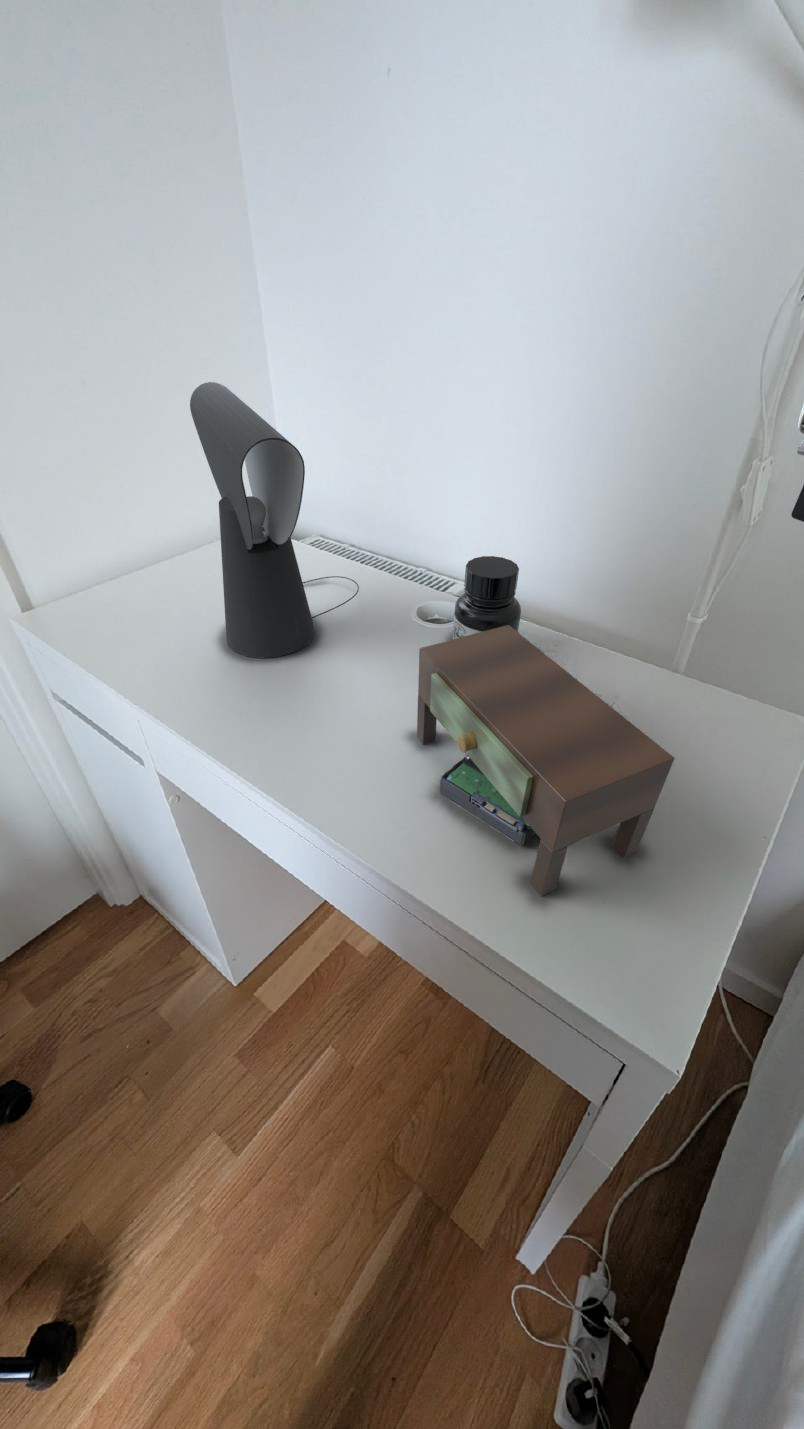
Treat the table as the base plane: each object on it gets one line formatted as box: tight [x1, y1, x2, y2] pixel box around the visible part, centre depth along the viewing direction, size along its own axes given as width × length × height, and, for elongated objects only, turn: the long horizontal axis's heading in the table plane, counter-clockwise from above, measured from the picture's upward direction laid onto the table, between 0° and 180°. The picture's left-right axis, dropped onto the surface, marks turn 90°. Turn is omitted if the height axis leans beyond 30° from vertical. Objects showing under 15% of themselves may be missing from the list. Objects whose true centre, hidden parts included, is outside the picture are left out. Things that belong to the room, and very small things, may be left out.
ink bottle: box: [452, 555, 522, 640], centre depth 78 cm, size 10×9×12 cm
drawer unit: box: [416, 625, 675, 897], centre depth 56 cm, size 24×13×12 cm, turn 26°
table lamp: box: [189, 381, 360, 659], centre depth 80 cm, size 40×28×30 cm
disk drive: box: [439, 754, 536, 846], centre depth 60 cm, size 10×3×15 cm
